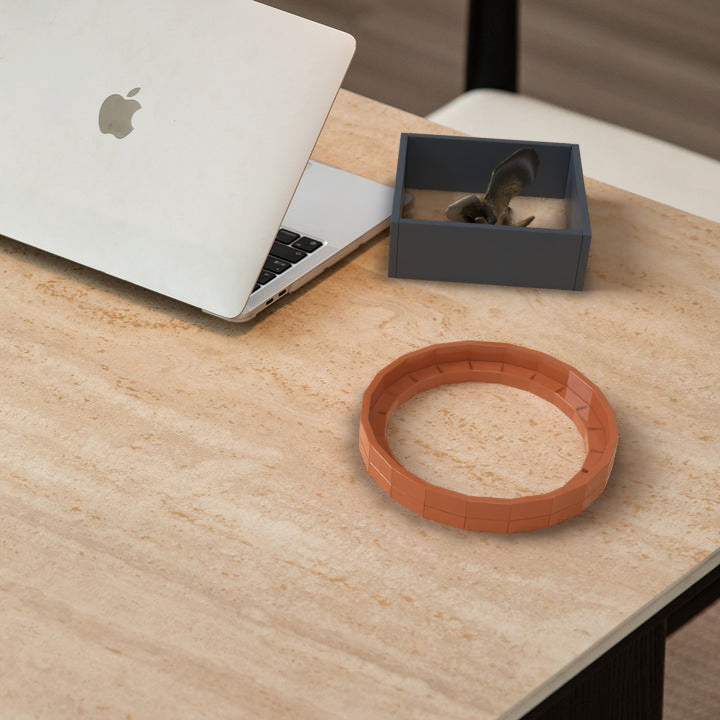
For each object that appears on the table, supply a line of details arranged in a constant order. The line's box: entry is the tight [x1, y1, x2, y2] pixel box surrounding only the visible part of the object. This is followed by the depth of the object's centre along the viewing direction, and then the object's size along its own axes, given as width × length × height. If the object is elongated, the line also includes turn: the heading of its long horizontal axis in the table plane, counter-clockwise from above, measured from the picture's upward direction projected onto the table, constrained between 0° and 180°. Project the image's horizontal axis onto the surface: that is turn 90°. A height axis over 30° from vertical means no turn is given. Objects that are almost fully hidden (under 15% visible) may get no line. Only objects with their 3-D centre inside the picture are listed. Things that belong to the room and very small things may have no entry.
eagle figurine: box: [445, 147, 540, 227], centre depth 95 cm, size 8×7×9 cm
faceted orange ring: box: [358, 339, 620, 534], centre depth 76 cm, size 15×15×3 cm
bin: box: [387, 132, 593, 292], centre depth 95 cm, size 14×14×6 cm
